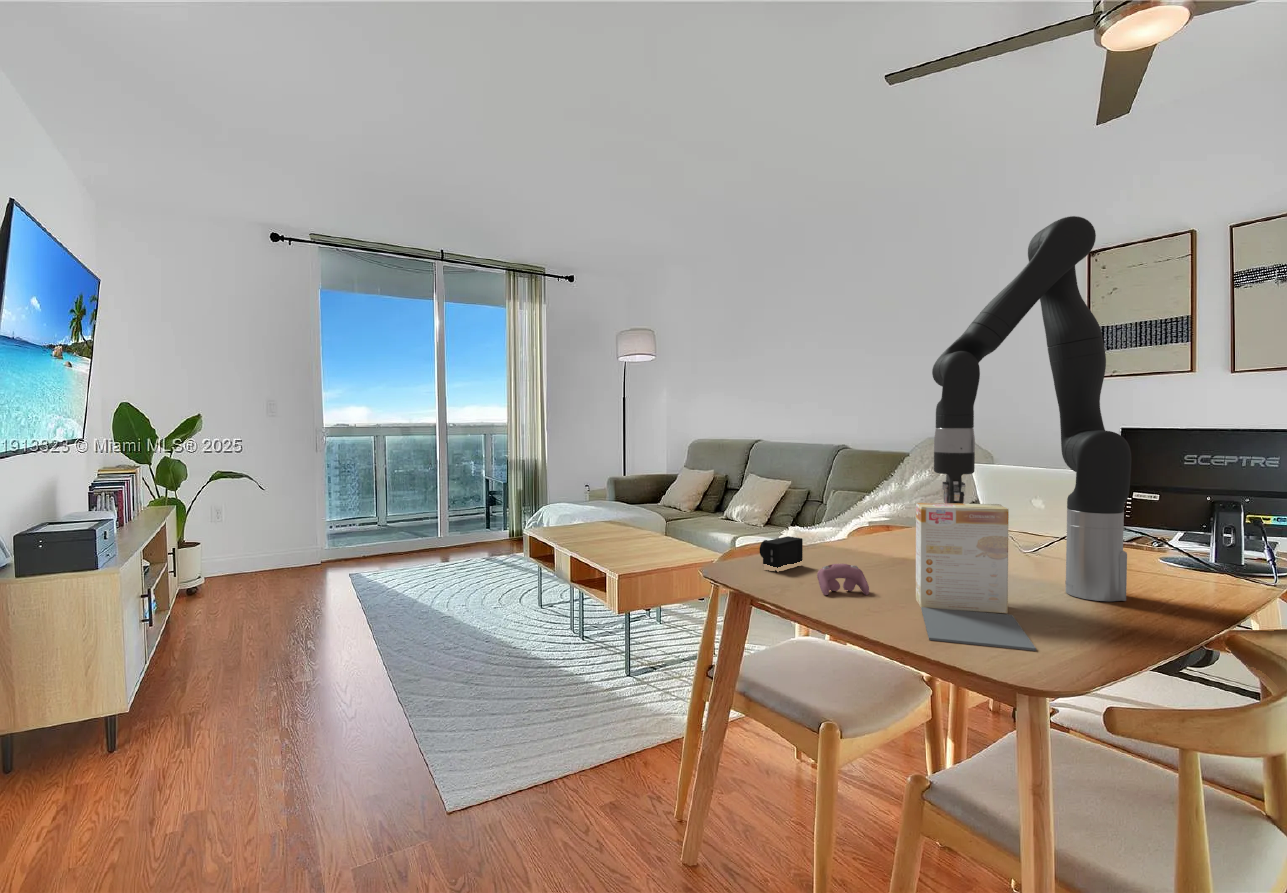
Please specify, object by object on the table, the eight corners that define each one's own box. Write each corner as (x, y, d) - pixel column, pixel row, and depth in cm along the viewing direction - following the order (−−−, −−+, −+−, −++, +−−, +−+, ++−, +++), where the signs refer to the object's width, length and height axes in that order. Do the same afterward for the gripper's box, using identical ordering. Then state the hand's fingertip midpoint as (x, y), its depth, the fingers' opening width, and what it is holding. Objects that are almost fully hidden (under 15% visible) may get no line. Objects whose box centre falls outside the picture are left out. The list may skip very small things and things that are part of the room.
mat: (1012, 617, 112) (1012, 614, 112) (1036, 650, 96) (1036, 648, 96) (921, 609, 117) (921, 607, 117) (929, 639, 101) (929, 637, 101)
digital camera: (784, 562, 157) (784, 535, 157) (802, 566, 153) (802, 537, 153) (758, 569, 150) (758, 540, 150) (777, 573, 146) (777, 543, 146)
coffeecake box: (997, 603, 121) (999, 503, 120) (1008, 614, 114) (1010, 508, 113) (914, 598, 125) (915, 501, 124) (920, 608, 118) (921, 506, 117)
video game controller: (864, 598, 130) (858, 565, 133) (872, 594, 126) (866, 560, 129) (817, 599, 130) (813, 566, 133) (824, 595, 126) (819, 560, 129)
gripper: (979, 452, 120) (978, 541, 121) (970, 449, 133) (969, 529, 133) (936, 451, 123) (935, 538, 124) (931, 448, 135) (930, 527, 136)
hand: (953, 533), depth 129 cm, fingers closed
